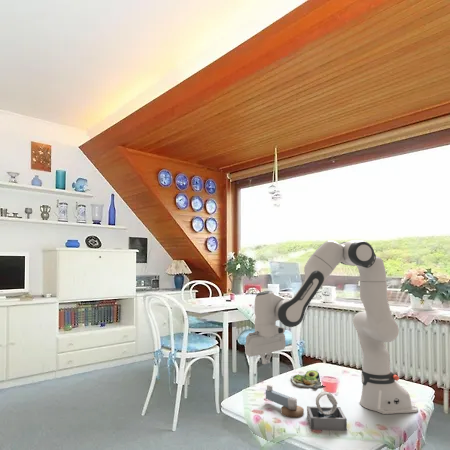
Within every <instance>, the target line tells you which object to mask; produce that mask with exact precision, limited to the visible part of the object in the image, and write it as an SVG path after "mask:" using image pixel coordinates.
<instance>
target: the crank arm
mask: <svg viewBox="0 0 450 450" xmlns="http://www.w3.org/2000/svg"><path fill="white" fill-rule="evenodd" d="M265 399H266V400H268V401H271V402H273V403H276V404H278V405H280V406H282V407H283V406H285V407H287V408H288V409H290V410H296V409H297V406H298V403H297V402H298V399H297V398H296V397H293V396H288V395H286V394H285V393H284V394H283V393H281V392H278V391H275V390H273V385H272V384H267V385H266V389H265Z"/></svg>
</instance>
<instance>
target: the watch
mask: <svg viewBox="0 0 450 450" xmlns="http://www.w3.org/2000/svg"><path fill="white" fill-rule="evenodd" d="M325 395H326V396H327V399H328V401H329V402H330V403H331V405H332V406H331V407H332V409H331V410H330V411H329V410H328V411H323V410H322V409H321V407H322V406H321V405H320V399H322V397H323V396H325ZM315 405H316V406H315V407H317V408H318V409H319V411H318V417H328V418H335V416H334V415H333V414H332V413H334V411H335V410H336V408H337V407H338V406H337V405H338V401H337V399H336V398H335V396H334V395H333V394H332V393H331V392H327V391H322V392H320V393H318V394H317V396H316V398H315Z"/></svg>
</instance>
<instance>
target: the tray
mask: <svg viewBox="0 0 450 450" xmlns="http://www.w3.org/2000/svg"><path fill="white" fill-rule="evenodd" d="M320 407H321V409H322V410H323V411H328V410H329V411H330V410H331V409H332V407H333V406H320ZM318 411H319V409H318V408H317V406H309V405H308V406H306V416H307V421H308V424H309V426H310V429H311V430H321V431H323V430H325V431H348V422H347V421H348V420H347V417H346V416H345V413H344V412H343V410H342V408H341V407H339V406H337V408H336V410H335V411H334V413H332V414H333V415H334V416H335V418H328V417H318Z"/></svg>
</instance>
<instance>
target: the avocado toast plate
mask: <svg viewBox="0 0 450 450" xmlns="http://www.w3.org/2000/svg"><path fill="white" fill-rule="evenodd" d="M320 377H322V375H320V373H319V372H318V370H313V369H312V370H308V371H306V372H305V373H304V374H294V375H292V376H291V377H290V381H291V382H292V384H294V385H295V386H296V387H298V388H304V389H317V388H321V387H322V386H321V382H320Z"/></svg>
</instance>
